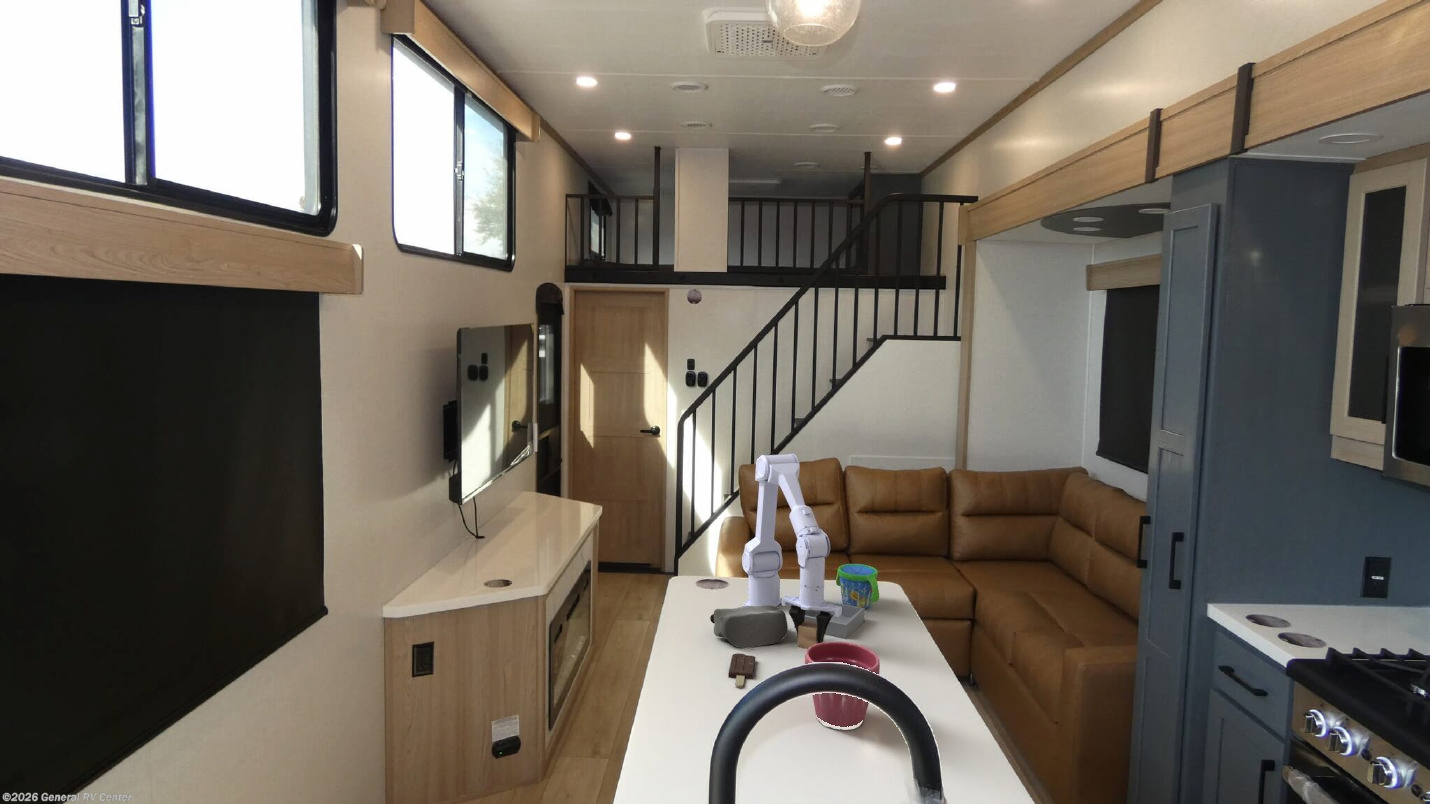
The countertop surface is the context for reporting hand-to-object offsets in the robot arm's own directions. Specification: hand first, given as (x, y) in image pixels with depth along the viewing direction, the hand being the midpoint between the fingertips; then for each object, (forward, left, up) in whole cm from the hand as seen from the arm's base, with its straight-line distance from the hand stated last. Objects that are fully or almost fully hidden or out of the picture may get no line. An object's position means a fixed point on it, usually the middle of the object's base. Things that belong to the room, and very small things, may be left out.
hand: (810, 639), depth 188 cm
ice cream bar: (+22, -7, -2) cm, 23 cm away
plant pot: (+30, +19, -2) cm, 36 cm away
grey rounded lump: (+4, -15, -2) cm, 15 cm away
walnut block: (0, 0, -1) cm, 1 cm away
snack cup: (-32, 0, -2) cm, 32 cm away
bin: (-15, -1, -1) cm, 15 cm away
